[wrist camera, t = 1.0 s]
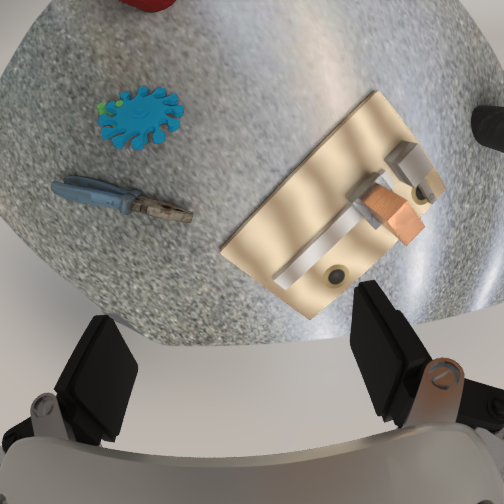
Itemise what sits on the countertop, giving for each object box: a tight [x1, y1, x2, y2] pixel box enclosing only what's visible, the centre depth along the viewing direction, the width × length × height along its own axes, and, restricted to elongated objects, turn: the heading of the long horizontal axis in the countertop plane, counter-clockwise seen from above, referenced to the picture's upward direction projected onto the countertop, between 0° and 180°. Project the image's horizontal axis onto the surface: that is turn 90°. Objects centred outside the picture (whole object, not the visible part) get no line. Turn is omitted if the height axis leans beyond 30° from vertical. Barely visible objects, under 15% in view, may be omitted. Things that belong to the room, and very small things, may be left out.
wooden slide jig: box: [220, 90, 446, 320], centre depth 34 cm, size 30×18×6 cm, turn 138°
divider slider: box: [347, 172, 425, 246], centre depth 30 cm, size 5×10×10 cm, turn 48°
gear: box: [97, 87, 184, 150], centre depth 29 cm, size 11×6×10 cm
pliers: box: [51, 176, 193, 223], centre depth 32 cm, size 20×2×6 cm, turn 72°
